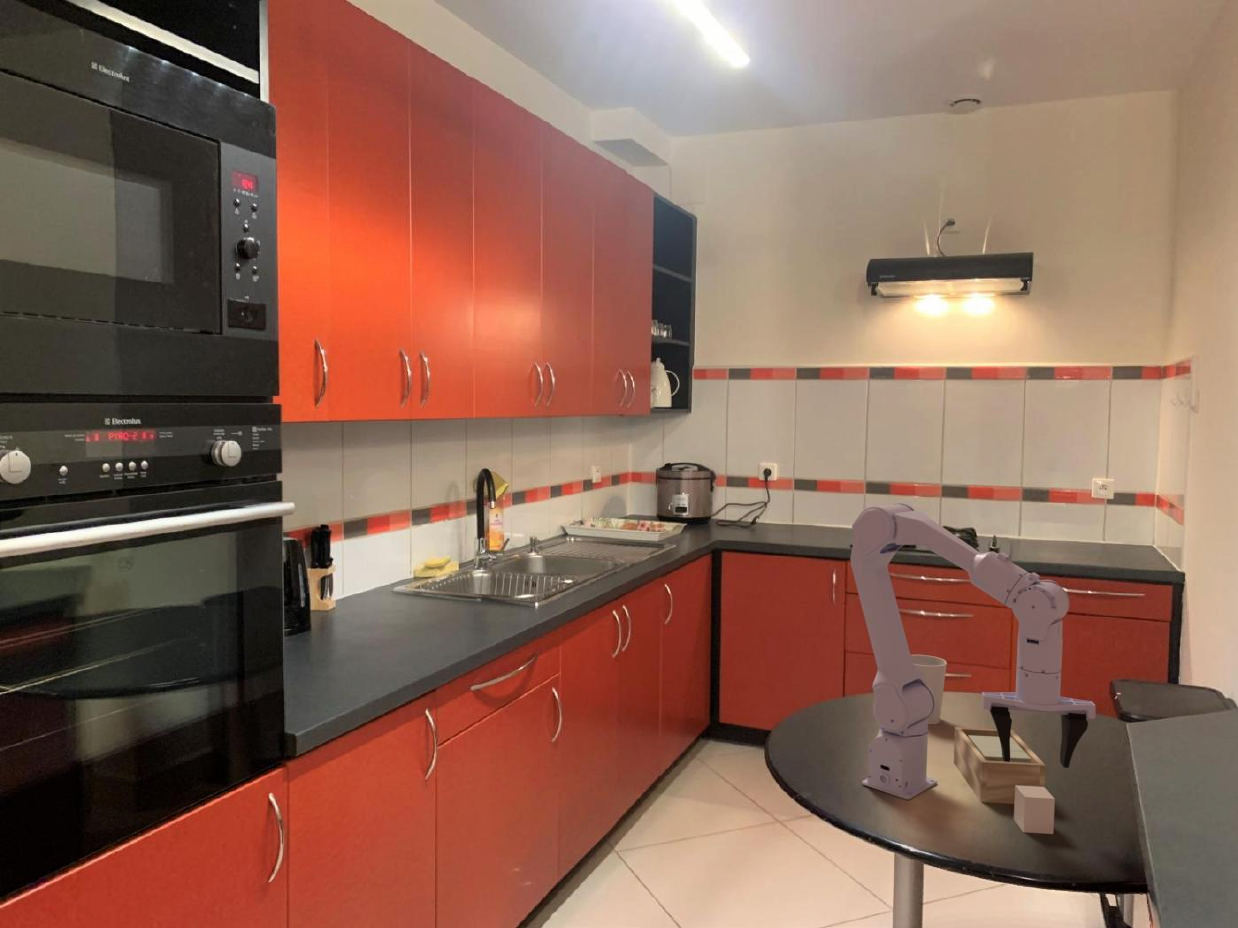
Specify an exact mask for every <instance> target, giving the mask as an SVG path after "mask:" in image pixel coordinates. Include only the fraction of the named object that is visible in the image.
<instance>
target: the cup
mask: <svg viewBox="0 0 1238 928" xmlns="http://www.w3.org/2000/svg"><path fill="white" fill-rule="evenodd" d="M910 655H911V659H912V662H913V664H914V665H915V666H917V667H918V668H919V669H920V670H921V671H922V672H923V675H924V679H925V681H926V683H927V685H928V686H929V687H930V689H931V690H932V691H933V693H934V695H935V699H936V708H935V711H934V713H933V714H932V715H931V716H930V717H929V718H928V724H934V725H938V724H940V722H941V714H942V706H943V696H944V688H945V687H944V686H945V679H946V672H947V665H948V663H947V661H946V660H945V659H943V658H941V657H937V656H932V655H927V654H926V655H925V654H910ZM937 723H938V724H937Z"/></svg>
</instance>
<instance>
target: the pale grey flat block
mask: <svg viewBox="0 0 1238 928" xmlns="http://www.w3.org/2000/svg"><path fill="white" fill-rule="evenodd" d="M968 738H969V740H970V741H971V742H972V743H973V745H974V746H975V747H976V748H977V750H978V751H979V752H980V754H981V755H982V756H983V757H984V759H985V760H987V761H1004V760H1003V757H1002V749H1001V743H1000V739H999V737H992V736H972V735H968ZM1010 762H1025V763H1031V758H1030V757H1029V756H1028V755H1027V754H1026V753H1025V752H1024V751H1023V749H1022V748H1021V747H1020V746H1019V745H1018V744H1017V743H1016V742H1015V741H1014V740H1013V739H1012V738H1011V737H1010Z"/></svg>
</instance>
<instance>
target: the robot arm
mask: <svg viewBox="0 0 1238 928" xmlns="http://www.w3.org/2000/svg"><path fill="white" fill-rule="evenodd" d="M851 529H852V532H853V536H854V537H853V542H852V548H851V551H850V552H851V553H850V566H851V567H850V568H851V570H852V575H853V577H854V578H853V579H854V582H855V585H856V589H857V593H858V597H859V601H860V605H861V608H862V613H863V616H864V620H865V625H866V629H867V632H868V636H869V639H870V644H871V648H872V652H873V655H874V659H875V664H876V667H877V672H876V674H875V678H874V680H873V682H872V686H871V687H872V690H873V695H874V697H873V704H872V712H873V716H874V718H875V721H876V722H877V723H878V725H879V730H878V734H877V735H876V736H875V738H873V739H872V740H871V742H870V743H869V746H868V753H867V754H868V756H867V757H868V758H867V778H865V779H864V780H862V783H861V784H862V785H864V786H866V787H870V788H871V789H875V790H878V791H880V792H884V793H887V794H889V795H892V796H895V797H898V798H901V799H904V800H911V799H912V798H914V797H916V796H918V795H919V794H921V793H922V792H924V791H925V790H928V789H929V788H931V787H933V786H934V785H936V784H937V783H938V780H937V779H935V778H932V777H928V776H927V769H928V768H927V767H928V742H929V741H928V740H929V739H928V738H929V737H928V736H929V725H928V718H929V717H930V716H931V715H932V714H933V713H934V711H935V708H936V699H935V695H934V693H933V691H932V690H931V689H930V687H929V686H928V685H927V683H926V681H925V679H924V675H923V672H922V671H921V670H920V669H919V668H918V667H917V666H915V665H914V664H913V662H912V659H911V655H912V654H911V652H910V647H909V644H908V640H907V637H906V633H905V629H904V625H903V622H902V618H901V613H900V610H899V606H898V603H897V600H896V595H895V592H894V588H893V584H892V580H891V577H890V573H889V569H888V566H889V564H890V562H891V560H892V559H893V557H894V556H895V555H896V554H897V552H898V550H899V549H901V548H902V547H904V546H905V545H906V546H908V545H909V546H917V545H918V546H922V547H924V548H926V549H927V550H929V551H931V552H933V553H934V554H936V555H938V556H940V557H942V558H943V559H945V560H947V561H948V562H950V563H952V564H953V565H955V566H957V567H959V568H961V569H962V570H963V571H966V572H967V574H968V577H969V581H970V583H971V584H972V585H973V586H974V587H976V588H978V589H979V590H981V591H982V592H984V593H985V594H987V595H989V596H990V597H992V598H993V599H995V600H996V601H998V602H1000V604H1003V606H1006V607H1007V608H1009V609H1012V613H1013V615H1014V617H1015V619H1016V620H1017V621H1018V630H1017V631H1018V632H1017V650H1016V653H1017V654H1016V671H1015V672H1016V675H1015V678H1016V679H1015V692H1014V691H1011V692H1010V691H1009V692H1004V691H1003V692H986V691H982V692H981V704H980V705H981V707H982V709H983V710H987V711H988V710H989V712H990V715H991V716H992V721H993V722H994V725H995V728H996V729H997V731H998V735H999V739H1000V743H1001V749H1002V757H1003V760H1004V761H1005V762H1010V733H1011V730H1012V724H1013V723H1012V722H1013V719H1012V718H1011V712H1010V711H1016V712H1017V711H1018V712H1029V713H1042V714H1053V715H1060V719H1061V742H1060V752H1059V762H1060V764H1061V766H1062V768H1064V769H1065V768H1066V769H1069V768H1070V764H1071V760H1072V757H1073V754H1074V752H1075V749H1076V747H1077V745H1078V743H1079V741H1080V739H1081V738H1082V736H1083V735H1084V733H1085V732H1086V731H1087V730H1088V728H1089V721H1088V720H1087V719H1092V720H1095V719H1096V706H1097V705H1096V704H1095V703H1094V702H1093V701H1092V700H1083V699H1076V698H1072V697H1066V696H1065V697H1064V696H1061V686H1062V683H1061V682H1062V667H1063V666H1062V662H1063V661H1062V660H1063V642H1064V641H1063V623H1064V621H1063V619H1062V618H1064V617H1065V616H1066V615H1067V613H1068V612H1069V609H1070V597H1069V595H1068V593H1067V591H1066V590H1065V589H1064V588H1063V587H1062V586H1061V585H1059V584H1058V583H1057V581H1054V580H1052V579H1043V580H1040V577H1041V576H1040V575H1039V574H1037V573H1036V572H1034V571H1033V572H1028V571H1026V570H1025V569H1023V568H1022V567H1020V566H1019V565H1018V564H1016V563H1013V562H1012V561H1010V558H1011V556H1010V555H1009V554H1006V553H1005V552H999V553H997V552H995V551H987V552H983V553H982V552H980V551H978V550H977V549H975V548H974V547H973V546H971V545H970V544H968V543H966V542H965V541H964V540H962V539H960V538H959V537H958V536H957V535H955V534H953V532H951V531H949V530H947V529H946V528H944V527H943V526H942V525H941V524H939V523H937V522H936V521H934V520H933V519H931V518H930V516H928V515H927V514H926V513H925V512H923V511H921V510H919V509H914V507H912V506H911V505H909V504H908V503H903V502H898V503H897V502H896V503H893V504H889V505H881V506H875V505H874V506H869V507H866V508H865V509H863V510H862V511H861V512H860V513H859V515H858V517H857V518H856V519H855V520H854V522H853V524H852V525H851Z"/></svg>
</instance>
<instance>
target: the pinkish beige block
mask: <svg viewBox="0 0 1238 928" xmlns="http://www.w3.org/2000/svg"><path fill="white" fill-rule="evenodd" d="M1055 803H1056V798H1055V797H1054V796H1053V795H1052V794H1051V793H1050V792H1049V790H1048V789H1047V788H1046V786H1045V787H1036V786H1018V785H1015V804H1014V807H1013V809H1014V810H1013V812H1014V813H1013V820H1014V821H1015V824H1016V825H1017V826H1018V827H1019V828H1020V830H1021V831H1022V832H1023V833H1031V834H1032V833H1033V834H1046V835H1047V834H1048V835H1054V830H1055V829H1054V828H1055V827H1054V826H1055V805H1056V804H1055Z"/></svg>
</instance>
